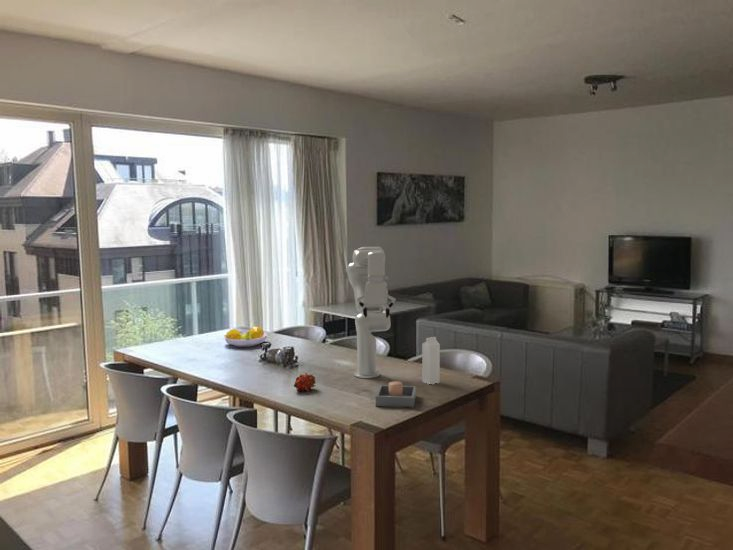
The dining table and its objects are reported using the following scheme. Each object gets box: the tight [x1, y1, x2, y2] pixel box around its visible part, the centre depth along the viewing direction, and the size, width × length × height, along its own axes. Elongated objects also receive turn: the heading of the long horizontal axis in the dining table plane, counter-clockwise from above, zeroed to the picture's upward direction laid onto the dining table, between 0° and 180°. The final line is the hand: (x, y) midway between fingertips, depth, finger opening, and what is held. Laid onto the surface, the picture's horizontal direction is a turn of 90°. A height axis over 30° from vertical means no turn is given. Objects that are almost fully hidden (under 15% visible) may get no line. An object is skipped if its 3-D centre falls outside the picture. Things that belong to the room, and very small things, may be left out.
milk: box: [421, 336, 441, 385], centre depth 282 cm, size 6×6×22 cm
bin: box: [375, 384, 417, 408], centre depth 256 cm, size 16×16×4 cm
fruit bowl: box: [223, 326, 268, 348], centre depth 363 cm, size 28×27×11 cm
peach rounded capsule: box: [388, 380, 404, 397], centre depth 256 cm, size 6×6×7 cm
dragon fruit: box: [293, 372, 316, 392], centre depth 272 cm, size 8×8×12 cm
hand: (376, 317), depth 267 cm, fingers open, 9 cm apart
